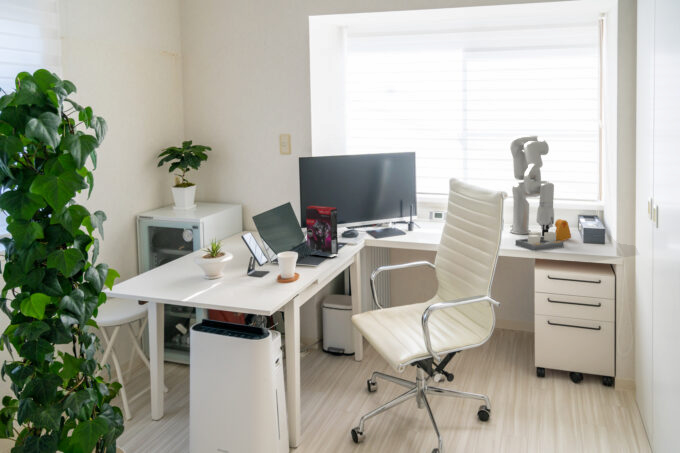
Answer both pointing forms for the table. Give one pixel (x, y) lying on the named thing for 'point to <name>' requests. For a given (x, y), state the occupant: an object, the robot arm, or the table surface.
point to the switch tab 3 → (550, 236)
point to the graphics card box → (322, 229)
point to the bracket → (562, 230)
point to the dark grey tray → (541, 246)
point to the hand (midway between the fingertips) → (545, 235)
